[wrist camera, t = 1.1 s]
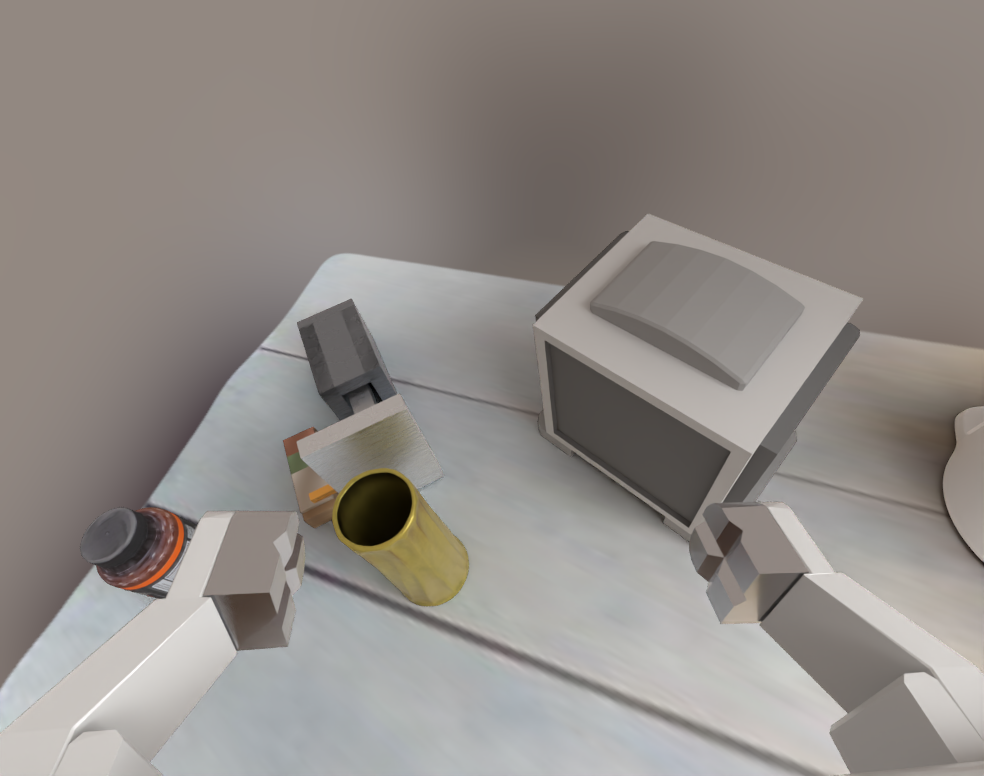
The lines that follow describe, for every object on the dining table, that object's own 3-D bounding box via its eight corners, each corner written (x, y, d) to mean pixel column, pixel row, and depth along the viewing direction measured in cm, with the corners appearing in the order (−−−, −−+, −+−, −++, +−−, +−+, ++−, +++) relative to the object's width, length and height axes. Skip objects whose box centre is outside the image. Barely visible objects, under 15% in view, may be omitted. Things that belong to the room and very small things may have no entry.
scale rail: (322, 436, 50) (311, 424, 48) (345, 513, 45) (334, 503, 43) (294, 449, 50) (282, 438, 48) (314, 528, 45) (302, 519, 43)
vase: (388, 550, 43) (314, 486, 31) (453, 519, 43) (405, 444, 32) (410, 620, 39) (337, 578, 28) (481, 585, 40) (438, 529, 28)
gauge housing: (372, 337, 57) (351, 298, 52) (400, 401, 51) (380, 366, 46) (323, 359, 56) (296, 322, 51) (346, 427, 50) (319, 393, 45)
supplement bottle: (160, 586, 44) (47, 550, 35) (210, 527, 47) (117, 479, 37) (203, 622, 42) (93, 594, 32) (252, 558, 44) (164, 515, 35)
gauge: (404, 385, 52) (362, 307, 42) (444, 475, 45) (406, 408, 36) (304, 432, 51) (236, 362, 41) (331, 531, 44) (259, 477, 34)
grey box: (796, 440, 43) (912, 288, 28) (714, 560, 39) (799, 458, 23) (616, 341, 51) (629, 184, 36) (533, 430, 47) (509, 293, 32)
